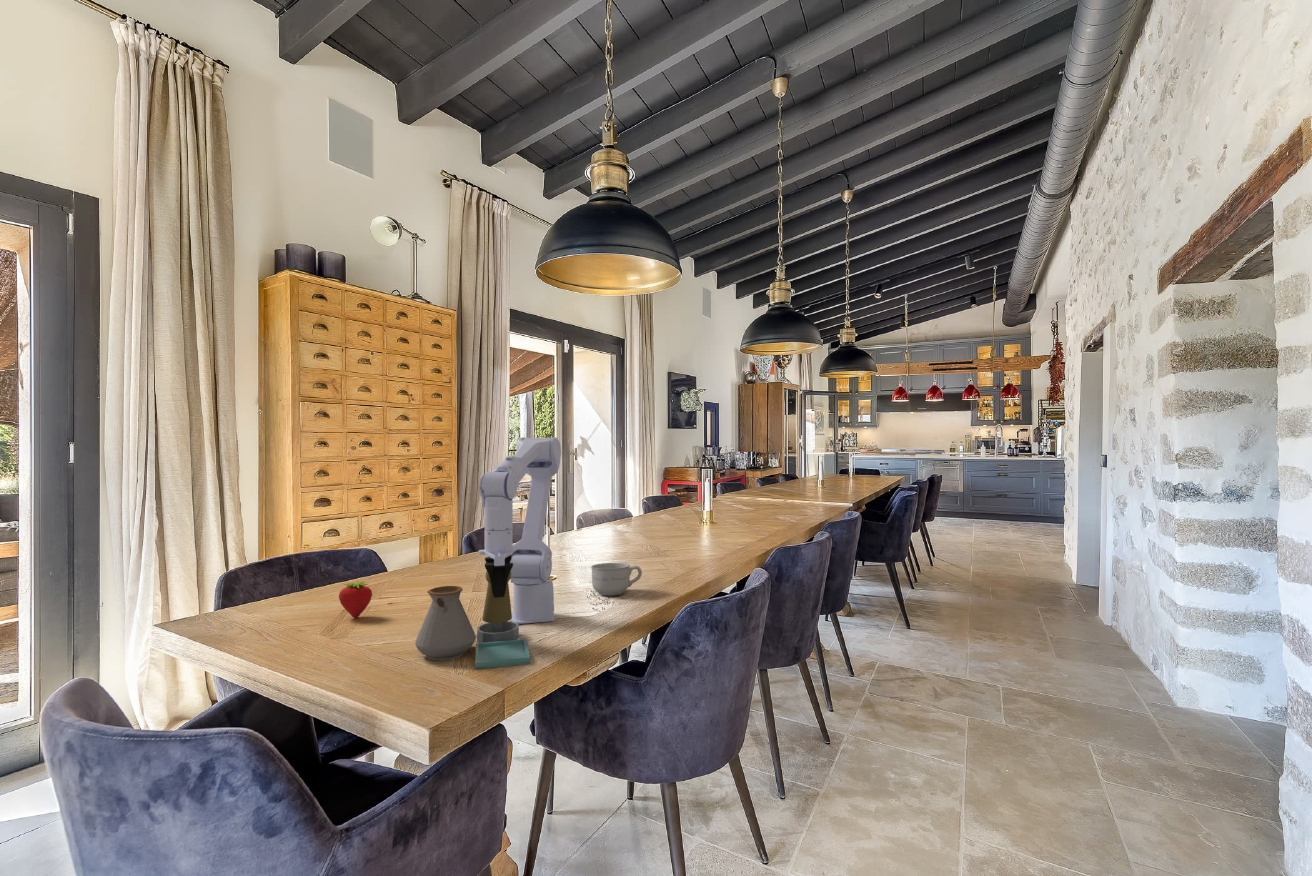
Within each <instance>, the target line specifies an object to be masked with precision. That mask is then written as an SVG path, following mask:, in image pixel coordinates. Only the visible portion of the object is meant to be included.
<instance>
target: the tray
mask: <svg viewBox="0 0 1312 876" xmlns="http://www.w3.org/2000/svg"><path fill="white" fill-rule="evenodd" d="M474 663H475V664H474V665H475V668H474V669H475V670H479V669H480V670H482V669H489V668H490V669H491V668H500V667H508V666H511V667H512V666H519V665H527V664H528V665H529V664H531V655H530V651H529V647H528V642H527V639H526V638H519V639H517V640H508V641H497V642H486V643H478V642H477V643H475V662H474Z"/></svg>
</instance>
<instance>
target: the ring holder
mask: <svg viewBox="0 0 1312 876" xmlns="http://www.w3.org/2000/svg"><path fill="white" fill-rule="evenodd" d="M519 629H520V628H519V624H518V623H515V622H512V620H509V621H507V622H503V623H488V622H484V623H482V624H480V625H479V626H477V627H476V642H477V643H486V642H497V641H508V640H519V639H520V635H519V633H520V631H519ZM518 638H519V639H518Z"/></svg>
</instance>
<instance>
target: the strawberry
mask: <svg viewBox="0 0 1312 876" xmlns="http://www.w3.org/2000/svg"><path fill="white" fill-rule="evenodd" d="M365 582H366V581H357V583H356V582H355V583H354V582H353V583H351V582H350V583H346V584H344V586H346V587H344V588H342V589H341V590H340V591H339V594H338V599H339V602H340V604H341V606H342V607H343V608H344V610H345V611H346V612H347V613H348V614H349V615H350V616H351V618H355V619H357V618H359V616H360V615H361V614H362V613H363V612H364V611H365V609H366V608H367V607H368V605H369V604H370V603H371V600H372V597H373V592H372V589H371V588H370V587H369V586H367V585H369V584H368V583H365Z"/></svg>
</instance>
